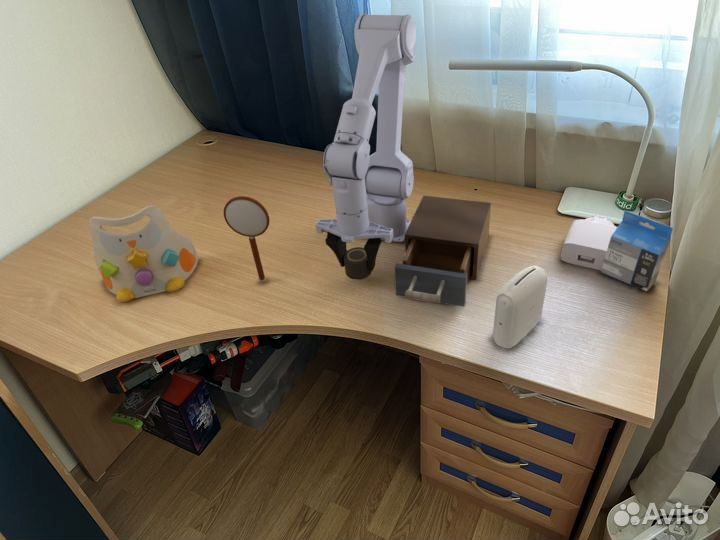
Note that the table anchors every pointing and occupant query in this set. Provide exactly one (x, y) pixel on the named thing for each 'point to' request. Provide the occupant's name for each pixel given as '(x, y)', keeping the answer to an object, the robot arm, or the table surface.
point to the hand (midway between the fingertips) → (357, 265)
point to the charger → (588, 242)
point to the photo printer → (519, 306)
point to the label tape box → (637, 251)
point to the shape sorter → (142, 255)
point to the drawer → (434, 272)
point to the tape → (356, 263)
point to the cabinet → (452, 225)
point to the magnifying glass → (248, 223)
